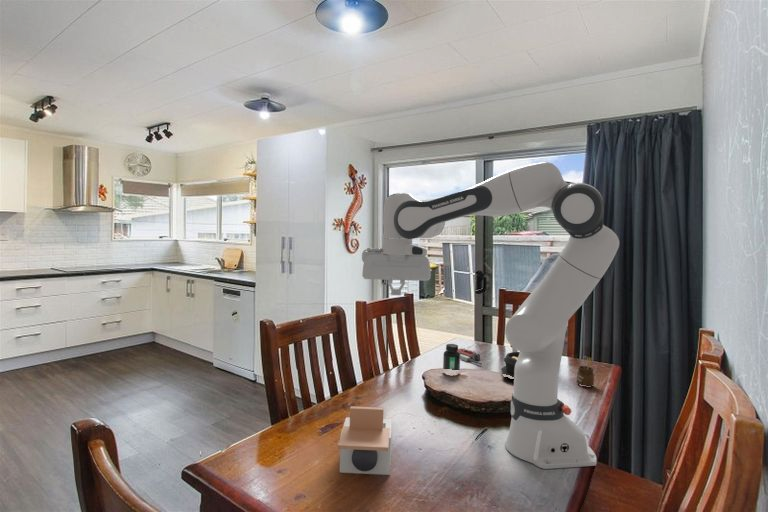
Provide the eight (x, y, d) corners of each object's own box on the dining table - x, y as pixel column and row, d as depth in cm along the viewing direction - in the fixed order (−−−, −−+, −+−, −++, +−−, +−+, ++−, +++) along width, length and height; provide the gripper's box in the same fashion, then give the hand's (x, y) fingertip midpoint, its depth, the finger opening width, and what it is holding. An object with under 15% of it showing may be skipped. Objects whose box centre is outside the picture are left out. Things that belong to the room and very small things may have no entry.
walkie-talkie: (448, 356, 199) (479, 367, 182) (448, 347, 199) (480, 357, 182) (461, 353, 204) (493, 364, 187) (461, 344, 204) (493, 354, 187)
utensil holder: (589, 383, 165) (591, 353, 164) (596, 388, 158) (597, 357, 158) (574, 382, 165) (575, 352, 165) (580, 388, 159) (581, 357, 158)
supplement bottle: (454, 377, 167) (455, 348, 167) (439, 374, 172) (440, 345, 171) (462, 373, 173) (463, 345, 172) (447, 369, 177) (448, 342, 176)
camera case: (391, 452, 108) (392, 419, 108) (389, 478, 97) (390, 441, 96) (345, 450, 109) (346, 417, 108) (338, 476, 97) (339, 438, 97)
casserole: (537, 390, 155) (538, 368, 155) (490, 379, 167) (491, 358, 166) (556, 374, 175) (557, 354, 174) (513, 365, 186) (514, 346, 186)
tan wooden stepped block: (389, 431, 101) (390, 407, 100) (388, 451, 91) (388, 425, 91) (343, 429, 101) (344, 406, 101) (337, 448, 92) (338, 423, 92)
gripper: (361, 248, 120) (360, 295, 121) (431, 249, 119) (430, 297, 120) (363, 247, 126) (362, 292, 127) (430, 249, 125) (429, 294, 126)
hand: (396, 295), depth 123 cm, fingers closed
